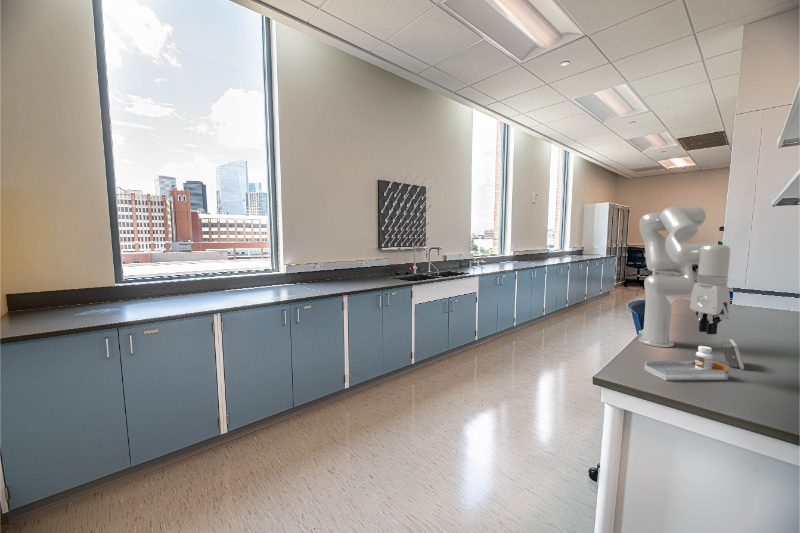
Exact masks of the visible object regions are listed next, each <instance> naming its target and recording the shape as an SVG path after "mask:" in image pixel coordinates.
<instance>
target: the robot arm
mask: <svg viewBox="0 0 800 533" xmlns="http://www.w3.org/2000/svg"><path fill="white" fill-rule="evenodd" d="M705 221H706V211H705V210H704V209H703V208H702V207H700V206H695V205H688V206H687V205H686V206H685V205H683V206H681V205H680V206H679V205H678V206H676V205H675V206H670V207H666V208H665V209H663V210H662V211H661V212H649V213H646V214H644V215H642V217H640V220H639V224H638V225H639V226H638V227H639V233H640V235H641V236H640V237H641V238H642V240H643V243H644V252H645V263H646V267H647V270H648V271H650V272H652V273H657V274H651V275H648V276H647V277H645V279H644V283H643V285H644V286H643V287H644V288H643V289H644V293H645V294H644V295H645V300H644V302H645V305H644V316H643V317H644V320H643V329H641V330H638V333H639V334H640V335H641V336H640V337H638V341H639V342H640V343H641V344H645V345H648V346H653V347H658V348H659V347H660V348H672V347H674V345H675V344H674V342H673V341H671V340H670V336H671V326H672V312H673V307H672V306H673V305H672V303H671V302H670V301H669V300H668V298H667V297H683V298H685V297H690V299H689V300H690V301H689V309H690V311H691V312H692V313H694V314H695V315H696V317H697V320H698V321H699V323H698V332H699V333H705V334H706V335H717V332H718V324H720V323H721V321H725V320H729V319H730V316H729V312H730V307H731V306H730V305H731V303H730V302H731V297H730V288H729V286H728V280H729V270H730V269H729V267H730V257H731V255H730V254H731V248H730V247H729V245H726V244H713V243H684V242H686V241H689V240H691V239H692V238H694V237H695V236H696V235H697V234H698V232H699V228H698V227H700V226H702V225H703V224H704V223H705ZM660 232H668V233H669V234H668V235H667V237H666V238H665V236H663V235H662V234H661V233H660ZM693 265H698V268H697V269H698V270H697V276H696V280H697V281H696V282H695V279H694V272H693ZM658 273H674V274H658Z"/></svg>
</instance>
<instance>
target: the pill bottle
mask: <svg viewBox="0 0 800 533" xmlns="http://www.w3.org/2000/svg"><path fill="white" fill-rule="evenodd" d="M697 350H698V351H696V352H695V359H694V361H695V367H696V368H698V369H701V370H712V362H713V361H714V359H713V358H714V355H713V354H712V352H713V351H712V350H713V349H712V347H710V346H705V345H699V346H698V347H697Z"/></svg>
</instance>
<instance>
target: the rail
mask: <svg viewBox="0 0 800 533" xmlns="http://www.w3.org/2000/svg"><path fill="white" fill-rule="evenodd" d="M644 371H646V372H648V373H649V374H652V375H653V376H656V377H657V376H658V378H659V377H660V379H661V378H662V379H661V380H663V379H664V380H663V381H718V380H719V381H722V380H723V381H724V380H725V381H726V380H729V374H730V373H729V372H730V367H729V365H728V366H727V365H725V364H722V363H720V362H717V361H714V360H713V362H712V370H701V369H698V368H696V367H695V360H649V361H648V360H645V361H644Z"/></svg>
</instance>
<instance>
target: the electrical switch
mask: <svg viewBox="0 0 800 533" xmlns="http://www.w3.org/2000/svg"><path fill="white" fill-rule="evenodd" d="M720 345H721V348H722V351H723V355H724V358H725V361H726V364H727V365H728V367H729V368H740V370H745V365H744V363H743V360H742V356H741V353H740V352H741V351H740V348H739V347H738V345H737V343H736V342H735V341H734V339H732V338H729V341H720Z"/></svg>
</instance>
